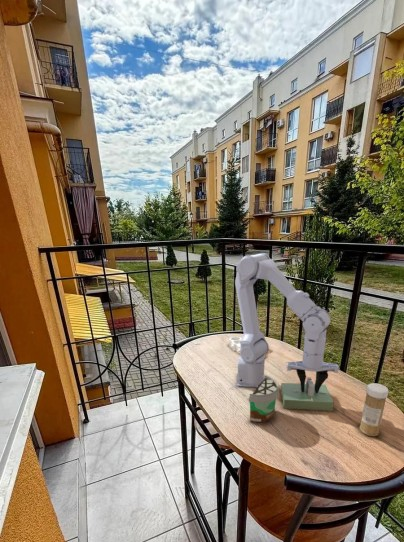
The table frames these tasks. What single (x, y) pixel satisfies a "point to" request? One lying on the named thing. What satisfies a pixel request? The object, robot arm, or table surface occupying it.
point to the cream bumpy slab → (235, 343)
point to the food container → (263, 401)
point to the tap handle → (309, 386)
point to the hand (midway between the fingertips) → (309, 391)
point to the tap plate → (305, 398)
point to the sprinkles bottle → (373, 409)
